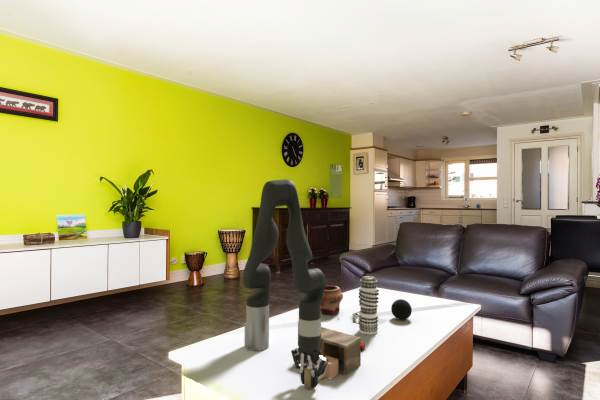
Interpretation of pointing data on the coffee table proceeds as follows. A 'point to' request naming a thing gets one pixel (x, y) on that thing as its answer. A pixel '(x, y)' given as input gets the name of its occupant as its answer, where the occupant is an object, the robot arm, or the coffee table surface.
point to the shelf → (341, 348)
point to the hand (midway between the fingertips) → (309, 384)
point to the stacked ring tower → (368, 305)
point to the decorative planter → (331, 300)
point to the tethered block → (329, 373)
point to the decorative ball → (401, 309)
